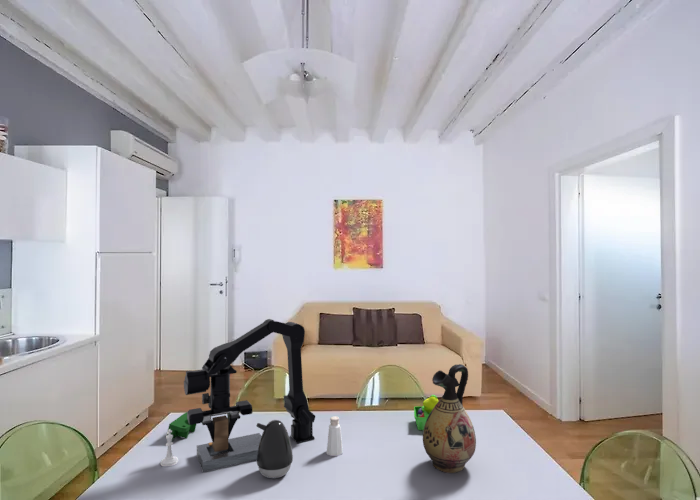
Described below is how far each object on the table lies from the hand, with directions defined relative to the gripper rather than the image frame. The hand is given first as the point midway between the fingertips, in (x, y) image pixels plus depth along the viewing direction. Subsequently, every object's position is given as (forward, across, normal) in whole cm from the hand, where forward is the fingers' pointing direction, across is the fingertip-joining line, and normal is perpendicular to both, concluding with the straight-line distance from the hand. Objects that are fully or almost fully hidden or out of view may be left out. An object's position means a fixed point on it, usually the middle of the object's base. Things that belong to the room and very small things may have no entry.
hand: (220, 439), depth 130 cm
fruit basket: (+6, -72, +10) cm, 73 cm away
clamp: (+6, +8, -24) cm, 26 cm away
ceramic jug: (+6, -60, +37) cm, 71 cm away
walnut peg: (+2, 0, 0) cm, 3 cm away
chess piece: (+6, +14, -5) cm, 16 cm away
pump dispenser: (+6, -12, +17) cm, 21 cm away
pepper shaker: (+6, -33, +13) cm, 36 cm away
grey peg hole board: (+6, -4, 0) cm, 7 cm away
